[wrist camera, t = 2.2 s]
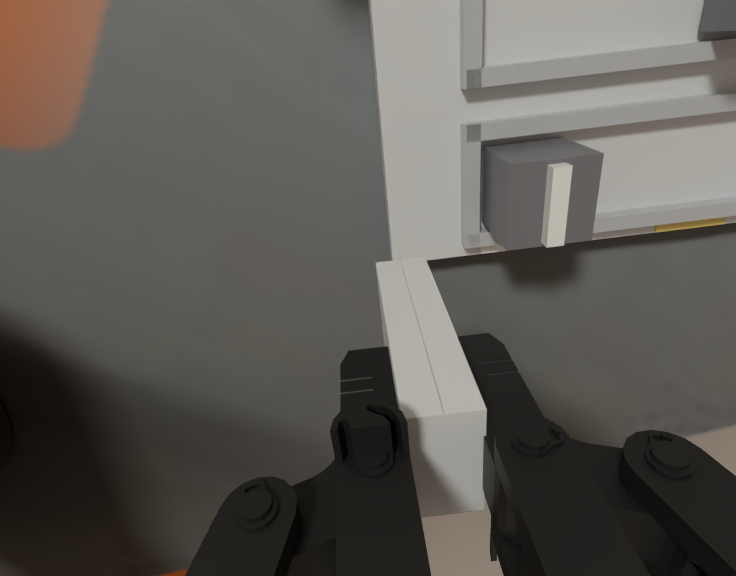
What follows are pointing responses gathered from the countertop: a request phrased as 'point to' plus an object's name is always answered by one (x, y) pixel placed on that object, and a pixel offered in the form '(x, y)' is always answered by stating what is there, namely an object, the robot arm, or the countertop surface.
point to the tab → (540, 192)
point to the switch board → (552, 111)
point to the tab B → (718, 16)
